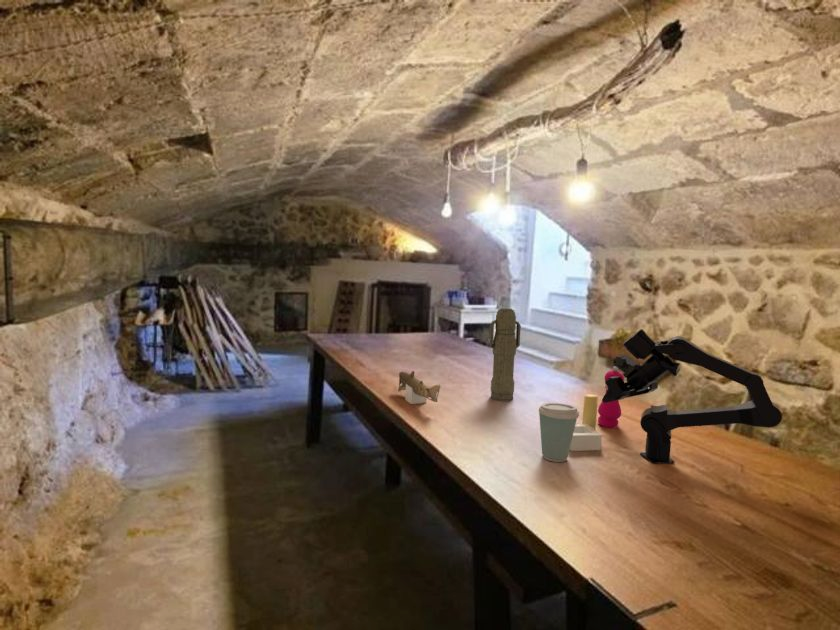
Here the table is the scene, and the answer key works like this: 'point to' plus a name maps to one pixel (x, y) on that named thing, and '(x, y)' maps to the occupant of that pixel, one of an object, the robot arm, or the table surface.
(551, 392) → the table surface
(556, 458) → the disposable coffee cup
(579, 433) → the socket
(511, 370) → the thermos
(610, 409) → the pepper mill
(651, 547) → the table surface
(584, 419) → the peg
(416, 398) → the wood carving
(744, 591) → the table surface
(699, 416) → the robot arm
